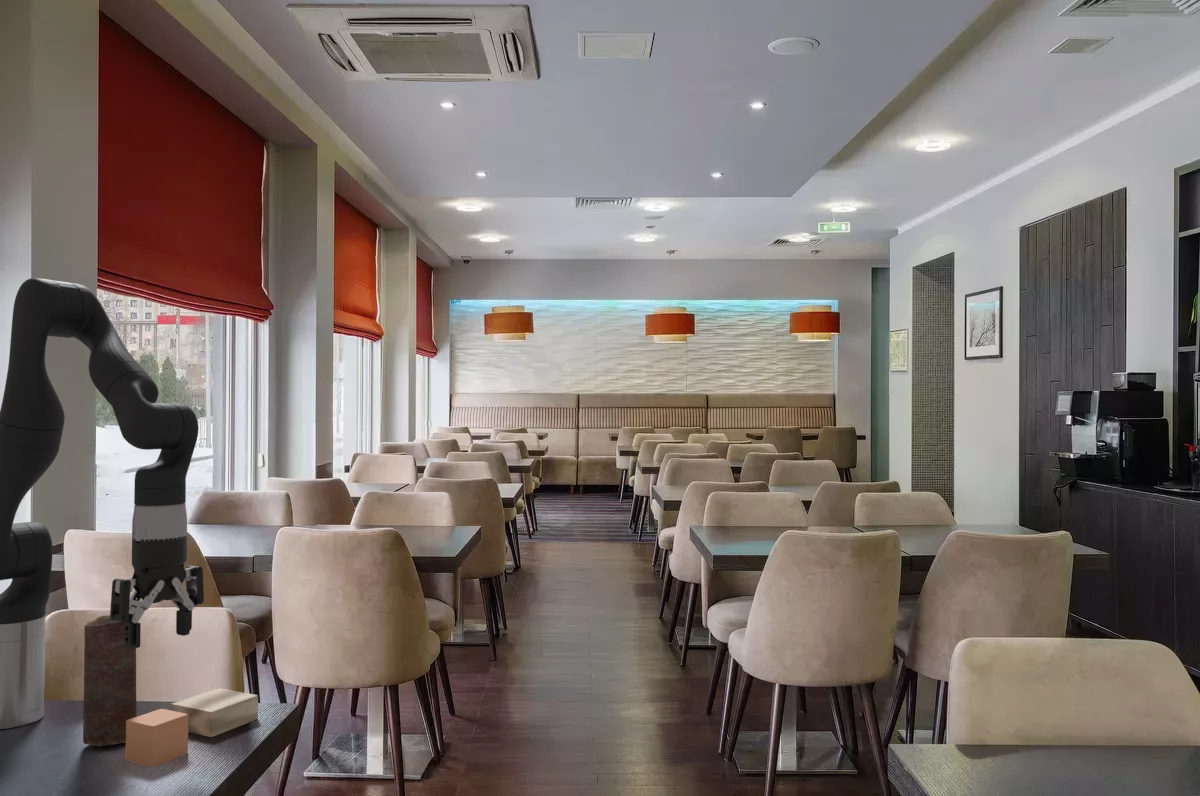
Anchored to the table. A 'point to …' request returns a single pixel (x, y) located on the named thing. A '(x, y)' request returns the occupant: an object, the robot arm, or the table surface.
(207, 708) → the oak plinth
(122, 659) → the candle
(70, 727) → the table surface
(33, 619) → the robot arm
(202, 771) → the table surface
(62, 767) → the table surface
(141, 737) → the terracotta cube
